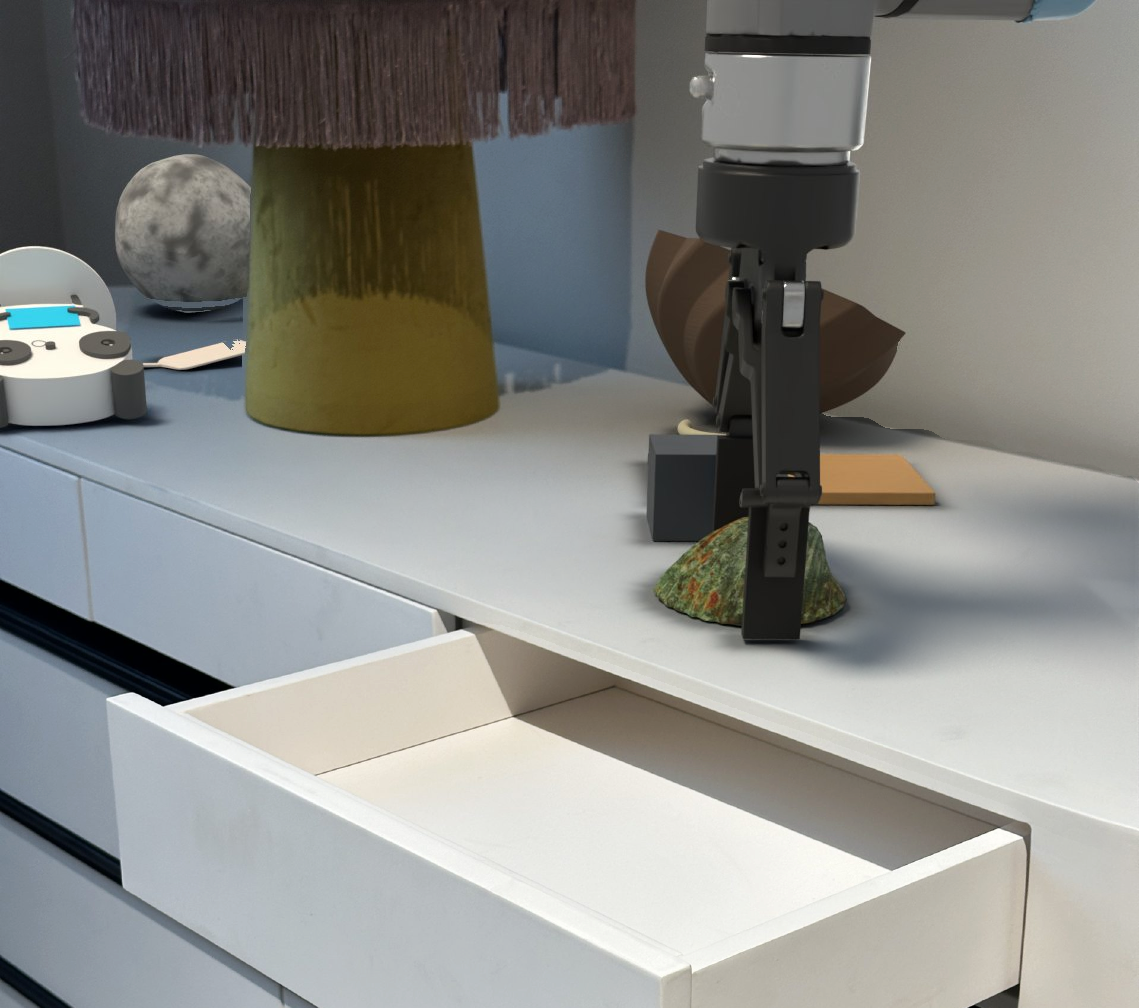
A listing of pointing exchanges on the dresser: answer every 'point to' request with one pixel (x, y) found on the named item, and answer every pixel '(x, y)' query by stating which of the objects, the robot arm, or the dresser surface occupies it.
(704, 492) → the slate block
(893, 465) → the sorting mat
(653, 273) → the brown fluted bowl
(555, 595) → the dresser surface
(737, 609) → the seashell
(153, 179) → the moon lamp
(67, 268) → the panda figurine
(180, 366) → the spatula
